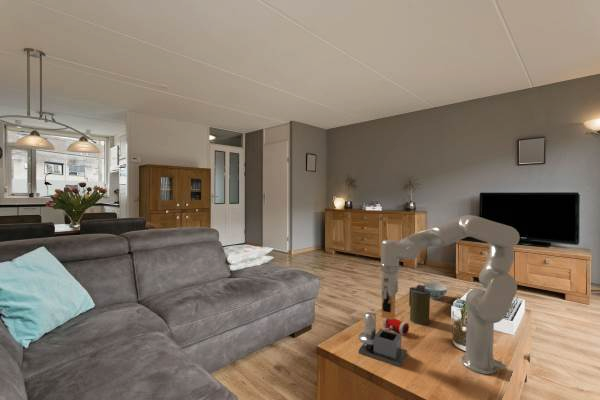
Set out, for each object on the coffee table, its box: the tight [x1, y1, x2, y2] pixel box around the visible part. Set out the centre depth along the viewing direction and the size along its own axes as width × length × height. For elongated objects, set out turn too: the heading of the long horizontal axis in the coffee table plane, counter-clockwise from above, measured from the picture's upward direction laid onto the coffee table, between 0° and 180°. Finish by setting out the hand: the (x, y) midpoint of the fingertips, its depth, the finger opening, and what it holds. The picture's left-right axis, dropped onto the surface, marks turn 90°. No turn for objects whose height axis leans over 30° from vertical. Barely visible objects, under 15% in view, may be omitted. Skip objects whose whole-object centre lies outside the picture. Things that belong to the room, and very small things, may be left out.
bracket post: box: [358, 311, 408, 368], centre depth 128 cm, size 20×12×16 cm, turn 57°
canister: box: [408, 284, 431, 326], centre depth 162 cm, size 11×10×20 cm
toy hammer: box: [382, 317, 410, 336], centre depth 145 cm, size 23×12×6 cm, turn 127°
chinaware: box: [423, 282, 448, 300], centre depth 199 cm, size 15×15×8 cm
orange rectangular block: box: [381, 291, 396, 320], centre depth 126 cm, size 4×4×12 cm
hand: (388, 309), depth 126 cm, fingers closed on orange rectangular block, 4 cm apart
